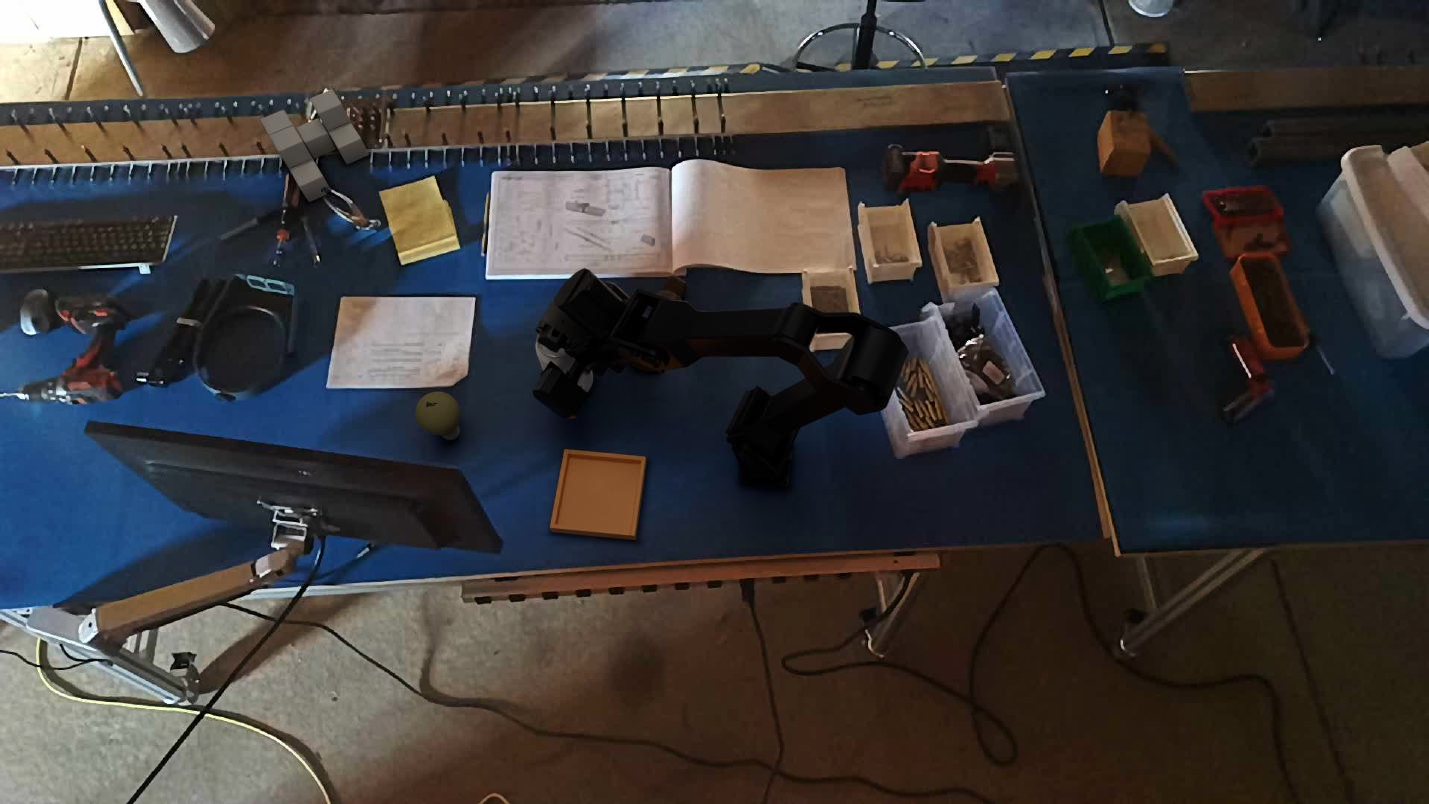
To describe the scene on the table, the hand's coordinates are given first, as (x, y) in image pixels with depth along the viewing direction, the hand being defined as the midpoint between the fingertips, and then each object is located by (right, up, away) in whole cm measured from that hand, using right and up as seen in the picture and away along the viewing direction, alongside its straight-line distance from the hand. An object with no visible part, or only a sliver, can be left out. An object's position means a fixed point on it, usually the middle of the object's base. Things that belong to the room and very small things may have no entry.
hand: (555, 355), depth 118 cm
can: (+1, -4, +6) cm, 7 cm away
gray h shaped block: (-41, +33, +23) cm, 58 cm away
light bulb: (-15, -11, +2) cm, 19 cm away
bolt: (+14, +4, +10) cm, 18 cm away
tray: (+6, -19, -2) cm, 20 cm away
